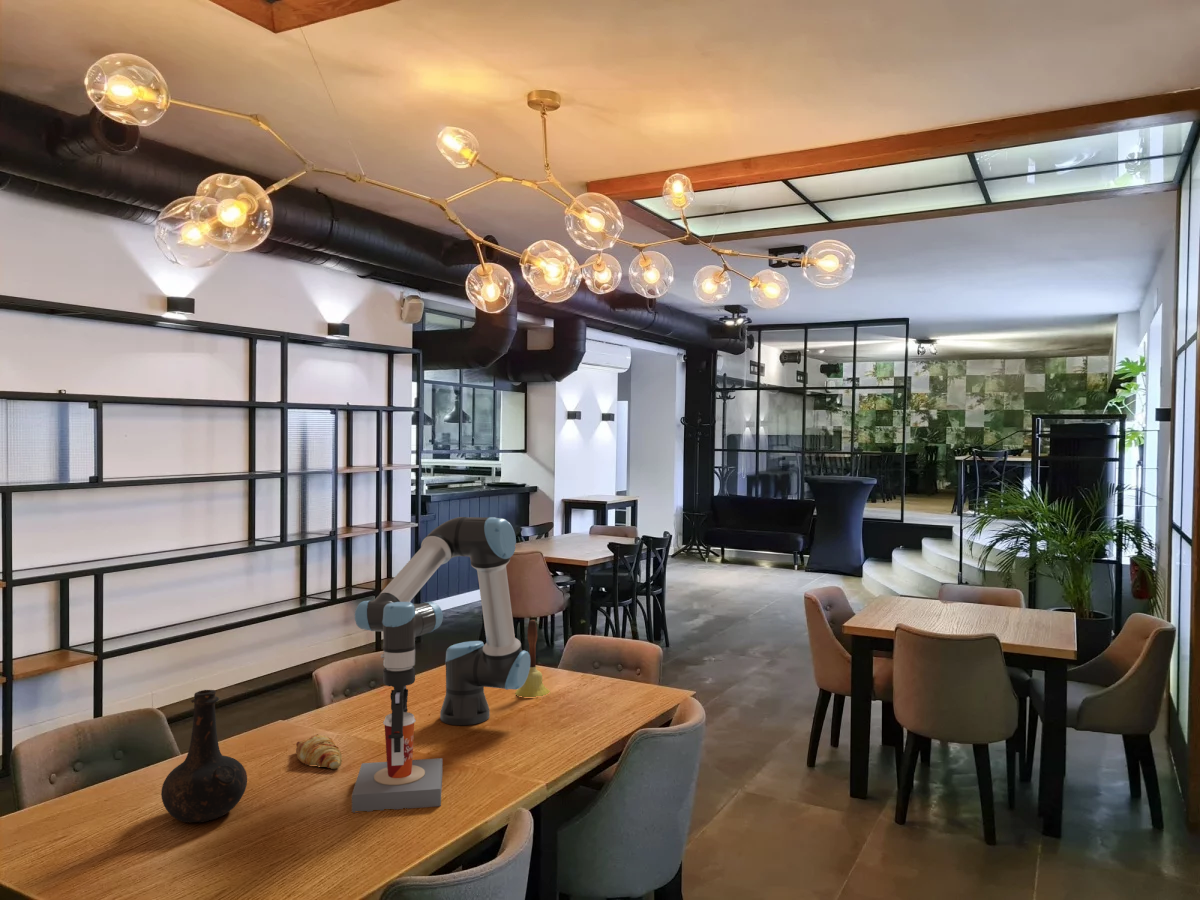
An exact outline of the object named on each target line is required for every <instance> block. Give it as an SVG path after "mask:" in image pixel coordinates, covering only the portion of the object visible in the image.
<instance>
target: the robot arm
mask: <svg viewBox="0 0 1200 900" xmlns="http://www.w3.org/2000/svg"><path fill="white" fill-rule="evenodd" d="M516 538H517V537H516V533H515V530H514V528H513V526H512V524H511V523H510V522H509V521H508V520H507V519H505V518H502V517H501V518H498V517H494V516H490V517H485V516H484V517H482V516H481V517H476V516H475V517H474V516H472V517H471V516H469V517H467V516H459V517H455V518H451V519H449V520H447V521H445V522H443V523H441V524H439V526H436V528H434V529H433V530H431V531H430V533H428V534H427V535H426V536H425V538H424V539H422V542H421V545H420V548H419V549H418V551H417V552H415V554H414V555H413V556H412V557H411V559H409V561H407V563H406V564H405V565H404V566H403V568H401V570H399V572H398V573H397V574H396V575H395V576H394V577H393V578H392V579H391V580H390V582H389V583H388V584H387V585H386V587H385V588H384V589H383V590H382V591H380V593H379V594H378V595H377V596H376V598H375V599H374V600H371V599H369V600H363V601H361V602H360V603H358V604H357V606H356V609H355V612H354V621H355V624H356V626H357V627H358V628H359V629H361V630H363V631H370V632H382V634H383V638H382V639H383V647H382V649H383V653H381V654H380V658H381V659H383V667H384V669H383V673H382V674H383V675H382V676H383V677H382V678H383V680H382V682H383V684H384V685H385V686H387V687H392V688H393V689H391V692H390V710H391V713H392V725H391V735H388V738H389V739H392V766H395V765H404V736H403V715H404V712H408V710H409V709H408V700H409V699H408V696H409V689H408V688H407V686H411V685H412V684H414V683H415V681H416V667H415V665H416V642H415V641H416V638H417V637H420V636H423V635H426V634H430V633H432V632H434V630H437V629H438V628H439V627H441V625H442V624H443V623H442V622H443V620H444V613H443V610H442V608H441V607H440V606H439V605H438V604H437V603H435V602H433V601H425V602H421V603H413V602H411V601H412V600H413V598H415V596H416V595H417V594H418V593H419V592H420V590H421V589H422V588H423V587H424V586H425V584H426V583H427V582H428V581H429V579H430V578H431V577H432V576H433V575H434V574H435V572H436V571H437V570H438V569H439V568H440V567H441V566H442V565H444V564H447V563H448V562H449V561H450V560H451V559H452V558H455V557H466V558H467V557H468V558H470V565H471V567H472V568H473V569H475V570H476V571H477V572H476V573H477V580H478V586H479V587H478V589H479V595H480V602H481V608H482V615H483V617H482V618H483V624H484V631H485V632H484V633H485V638H486V639H485V640H486V642H485V644H484V642H483V641H482V640H469V641H463V642H459V643H454V644H453V645H450V646H449V647H448V648H447V649H446V651H445V661H444V662H445V696H444V700H443V702H442V706H441V709H440V713H439V714H440V715H439V717H440V721H441V723H444V724H447V725H452V726H471V725H476V724H480V723H483V722H486V721H487V720H488V719H490V713H491V712H490V706H489V703H488V701H487V698H486V695H485V689H484V688H493V689H494V688H495V689H503V690H507V691H508V690H518V689H519V688H521V687H522V686H523V685H524V683H525V681H526V679H527V677H528V674H529V670H530V654H529V652H528V650H527V651H526V650H525V649H524V650H523V649H522V643H521V641H520V640H519V639H518V638H516V637H515V635H516V634H515V628H514V618H513V613H512V611H513V610H512V603H511V596H510V587H509V586H510V585H509V580H508V579H509V578H508V572H507V565H508V564H509V563H510V561H511V557H513V556H514V554H515V551H516V545H517V539H516ZM394 732H398V733H394Z"/></svg>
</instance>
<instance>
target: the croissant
mask: <svg viewBox="0 0 1200 900" xmlns="http://www.w3.org/2000/svg"><path fill="white" fill-rule="evenodd" d="M295 745H296V749H295V752H296V756H297V759H298V760H299V762H301V763H302V764H304V763H305V765H306V764H308V765H317V766H320V767H327V768H328V769H329V768H331V769H330V770H336V769H338V768H340V767H341V765H342V761H343V760H342V752H341V751H340V749H339V746H337V744H336V743H335V742H334V740H333V739H332V738H331V737H330V736H326V735H322V734H315V735H313V736H311V737H309V738H307V739H302V740H299V741H296V744H295Z"/></svg>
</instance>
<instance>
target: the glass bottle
mask: <svg viewBox="0 0 1200 900" xmlns="http://www.w3.org/2000/svg"><path fill="white" fill-rule="evenodd" d="M216 693H217V691H216V690H214V689H203V690H202V689H201V690H198V691H196V692H195V693H194V694H193V695H194V696H193V698H194V699H192V700H190V702H191V703H193V704H194V705H193V707H194V708H193V721H192V730H191V735H190V736H191V737H190V742H189V747H188V750H187V751H188V752H187V756H186V757H185V759H184V760H183V762H182V763H180V764H178V765H177V766H175V767H174V768H173V769H172V770H171V771H170V772H169V773H168V775H167V776H166V778H165V779H164V781H163V784H162V786H161V801H162V804H163V806H164V808H165V810H166V812H168V814H169V815H171V816H172V817H173V818H174V819H176V820H178V821H180V822H184V823H188V822H199V823H205V822H208V821H209V820H210V821H212V820H216V819H218V817H219V818H221V817H223V816H225V815H226V814H228V813H229V812H231V811H232V810H233V809H234V808H235V807H236V806H237V805H238V803H239V802H240V800H241V799H242V797H243V796H244V794H245V791H246V789H247V785H248V774H247V771H246V769H245V767H244V765H243V763H241V762H240V761H239V760H237V759H235V758H234V757H231V756H227V755H223V754H222V753H221V751H220V746H219V740H218V731H217V717H216V703H217V702H218V701H219V699H220V698H219V697H218V696H216ZM204 821H205V822H204ZM210 821H209V822H210Z"/></svg>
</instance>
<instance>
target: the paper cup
mask: <svg viewBox="0 0 1200 900" xmlns="http://www.w3.org/2000/svg"><path fill="white" fill-rule="evenodd" d="M382 723H383V725H384V734H385V735H384V737H385V738H384V739H385V753H386V762H387V769H388V776H389V777H391V778H403V777H407V776H409V775H410V774H411V771H412V760H413V754H414V734H415V723H416V718H415V716H414V714H413V713H411V712H408V711H407V712H404V715H403V736H404V765H395V766H392V739H389V738H388V735H391V725H392V712H391V713H389V714H387V715H386V716H385V718H384V720H383V722H382ZM394 733H398V732H394Z"/></svg>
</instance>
